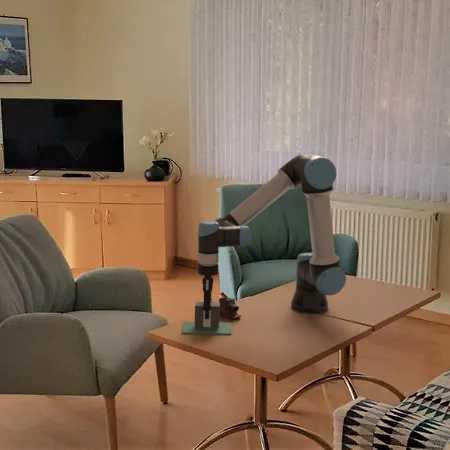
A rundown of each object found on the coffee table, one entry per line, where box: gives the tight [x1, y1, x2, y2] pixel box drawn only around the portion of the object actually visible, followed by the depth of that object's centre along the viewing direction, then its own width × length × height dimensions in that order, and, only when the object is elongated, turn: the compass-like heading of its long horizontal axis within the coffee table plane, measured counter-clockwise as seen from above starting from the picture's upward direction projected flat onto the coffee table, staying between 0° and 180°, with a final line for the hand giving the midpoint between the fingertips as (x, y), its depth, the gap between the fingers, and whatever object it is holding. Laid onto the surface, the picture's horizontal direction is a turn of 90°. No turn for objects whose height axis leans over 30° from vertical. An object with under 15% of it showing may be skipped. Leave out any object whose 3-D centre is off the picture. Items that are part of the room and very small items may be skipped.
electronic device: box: [218, 297, 242, 322], centre depth 267 cm, size 4×10×8 cm, turn 42°
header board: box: [181, 320, 233, 336], centre depth 253 cm, size 18×12×4 cm, turn 89°
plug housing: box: [194, 301, 220, 327], centre depth 253 cm, size 9×5×8 cm, turn 89°
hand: (207, 323), depth 253 cm, fingers closed on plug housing, 5 cm apart
